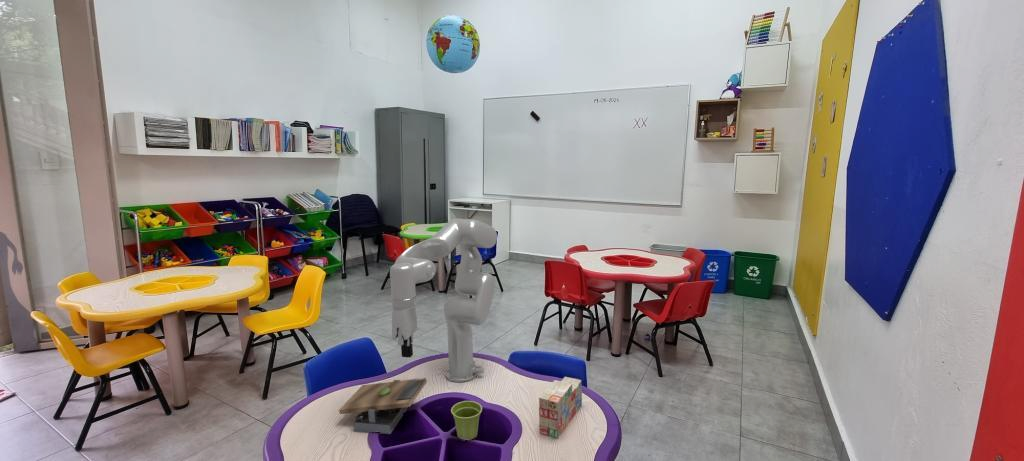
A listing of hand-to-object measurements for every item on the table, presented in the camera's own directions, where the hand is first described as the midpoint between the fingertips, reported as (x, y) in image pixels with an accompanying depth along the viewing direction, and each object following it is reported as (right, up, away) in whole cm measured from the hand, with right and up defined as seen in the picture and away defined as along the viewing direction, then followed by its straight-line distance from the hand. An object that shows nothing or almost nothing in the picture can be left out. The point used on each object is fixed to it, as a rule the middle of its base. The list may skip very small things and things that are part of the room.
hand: (407, 356), depth 145 cm
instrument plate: (-8, -15, +4) cm, 17 cm away
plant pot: (+20, -22, -8) cm, 31 cm away
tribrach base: (-8, -21, +4) cm, 23 cm away
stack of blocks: (+50, -21, 0) cm, 54 cm away
